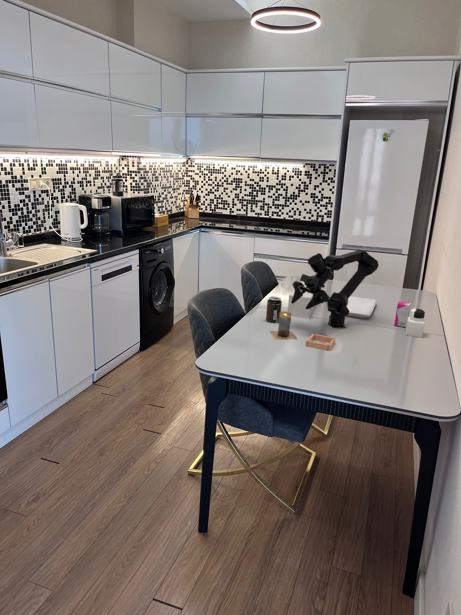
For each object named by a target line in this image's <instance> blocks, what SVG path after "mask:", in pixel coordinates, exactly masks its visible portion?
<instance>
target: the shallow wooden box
mask: <svg viewBox="0 0 461 615" xmlns="http://www.w3.org/2000/svg"><path fill="white" fill-rule="evenodd" d="M336 339H337V338H336V337H333V336H332V337H331V336H327V335H322V334H317V333H311V335H310V336H309V337H308V338H307V339H306V340H305V347H308V348H312V349H313V348H314V349H319V350H323V351H326V352H330V351H331V349H332V348H333V347H334V345H335V344H336ZM318 341H319V342H318ZM322 342H324V343H322ZM326 343H328V344H326Z"/></svg>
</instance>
